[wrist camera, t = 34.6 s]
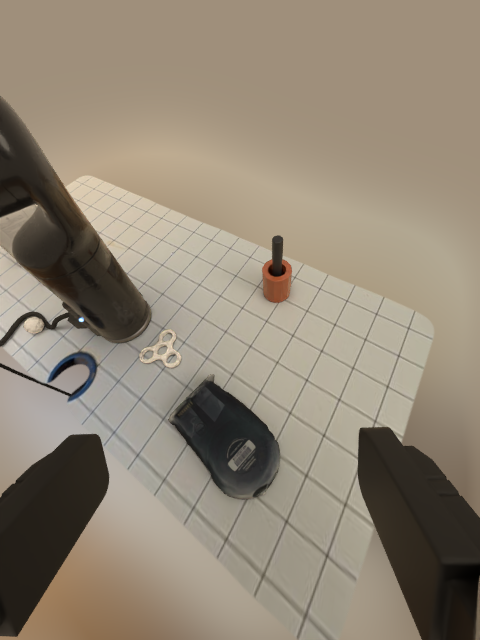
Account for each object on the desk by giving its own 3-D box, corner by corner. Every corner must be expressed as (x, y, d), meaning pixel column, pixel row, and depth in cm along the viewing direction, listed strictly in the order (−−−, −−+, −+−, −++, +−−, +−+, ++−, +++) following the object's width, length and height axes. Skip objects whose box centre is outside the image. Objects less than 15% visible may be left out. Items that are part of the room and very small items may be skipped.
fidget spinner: (138, 362, 45) (136, 360, 44) (152, 328, 48) (150, 325, 47) (178, 369, 44) (176, 368, 43) (190, 333, 47) (189, 331, 46)
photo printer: (62, 234, 63) (20, 184, 53) (67, 245, 61) (24, 195, 51) (17, 256, 61) (-36, 209, 51) (21, 268, 59) (-34, 221, 49)
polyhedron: (29, 331, 51) (16, 323, 48) (43, 319, 52) (31, 311, 49) (37, 339, 50) (24, 331, 47) (51, 327, 51) (39, 319, 48)
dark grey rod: (272, 294, 49) (272, 243, 38) (272, 287, 49) (271, 235, 39) (281, 293, 49) (283, 242, 38) (280, 286, 49) (282, 234, 39)
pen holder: (264, 303, 48) (263, 282, 43) (262, 282, 51) (261, 259, 46) (290, 301, 48) (293, 280, 43) (288, 280, 50) (290, 257, 45)
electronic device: (171, 431, 41) (245, 519, 33) (159, 416, 36) (240, 512, 29) (218, 387, 44) (294, 456, 37) (212, 369, 40) (296, 443, 32)
